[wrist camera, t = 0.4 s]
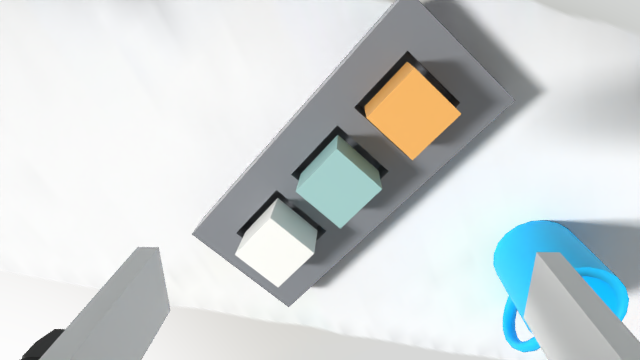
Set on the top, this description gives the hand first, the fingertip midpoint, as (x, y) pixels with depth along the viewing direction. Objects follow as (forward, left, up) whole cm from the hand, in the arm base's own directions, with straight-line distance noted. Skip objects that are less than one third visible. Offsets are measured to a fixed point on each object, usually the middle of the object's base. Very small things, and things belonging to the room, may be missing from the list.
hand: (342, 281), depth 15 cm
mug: (+24, +1, -25) cm, 35 cm away
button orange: (+2, +5, -22) cm, 22 cm away
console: (+2, -3, -25) cm, 25 cm away
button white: (+2, -11, -22) cm, 25 cm away
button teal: (+2, -3, -22) cm, 22 cm away
